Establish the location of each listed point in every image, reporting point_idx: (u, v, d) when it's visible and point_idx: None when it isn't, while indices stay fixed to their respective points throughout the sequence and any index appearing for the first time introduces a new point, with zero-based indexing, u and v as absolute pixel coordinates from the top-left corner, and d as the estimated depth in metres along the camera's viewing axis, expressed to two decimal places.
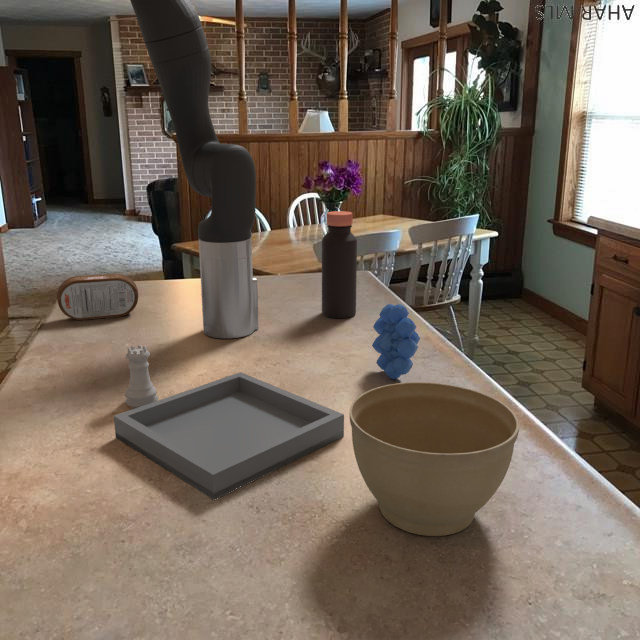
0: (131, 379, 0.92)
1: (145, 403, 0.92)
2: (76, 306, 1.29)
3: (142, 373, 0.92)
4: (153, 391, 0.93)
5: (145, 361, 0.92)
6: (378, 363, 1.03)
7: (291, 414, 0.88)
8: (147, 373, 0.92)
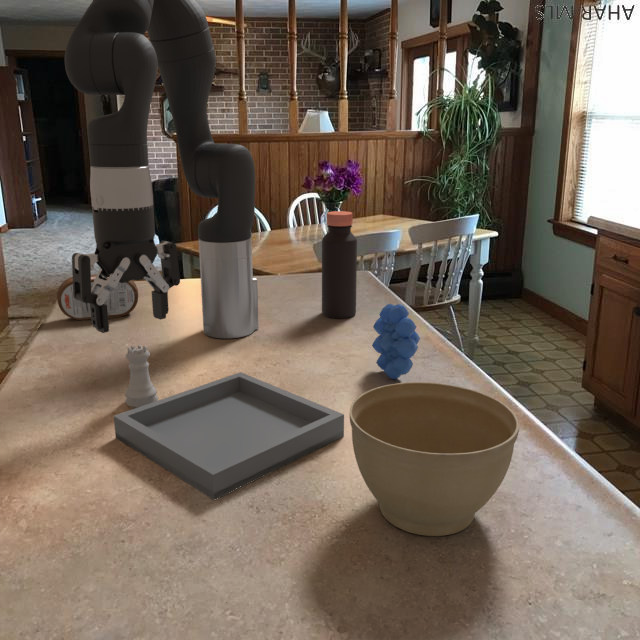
0: (131, 379, 0.92)
1: (145, 403, 0.92)
2: (76, 306, 1.29)
3: (142, 373, 0.92)
4: (153, 391, 0.93)
5: (145, 361, 0.92)
6: (378, 363, 1.03)
7: (291, 414, 0.88)
8: (147, 373, 0.92)
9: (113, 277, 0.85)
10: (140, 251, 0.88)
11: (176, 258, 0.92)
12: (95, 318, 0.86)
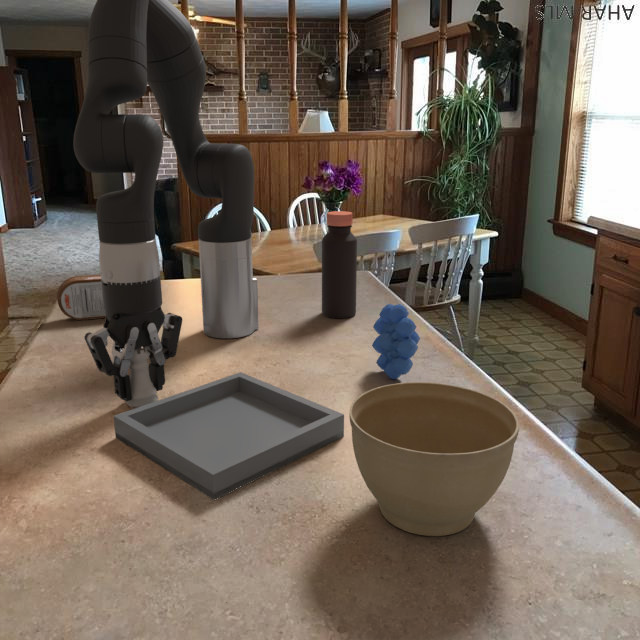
0: (131, 379, 0.92)
1: (145, 403, 0.92)
2: (76, 306, 1.29)
3: (142, 373, 0.92)
4: (153, 391, 0.93)
5: (145, 361, 0.92)
6: (378, 363, 1.03)
7: (291, 414, 0.88)
8: (147, 373, 0.92)
9: (128, 349, 0.89)
10: (148, 319, 0.91)
11: (178, 331, 0.94)
12: (119, 388, 0.90)
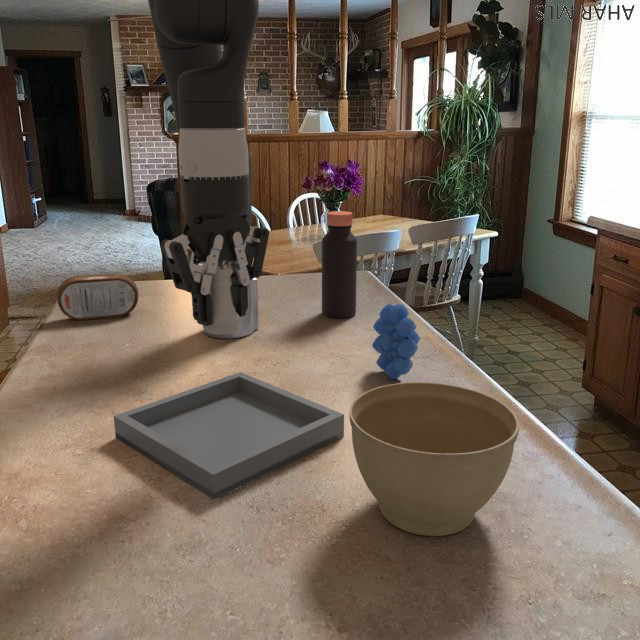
0: (211, 300, 0.78)
1: (227, 329, 0.78)
2: (76, 306, 1.29)
3: (225, 293, 0.77)
4: (236, 316, 0.79)
5: (228, 279, 0.78)
6: (378, 363, 1.03)
7: (291, 414, 0.88)
8: (229, 294, 0.78)
9: (211, 261, 0.74)
10: (233, 228, 0.76)
11: (264, 247, 0.80)
12: (198, 309, 0.76)
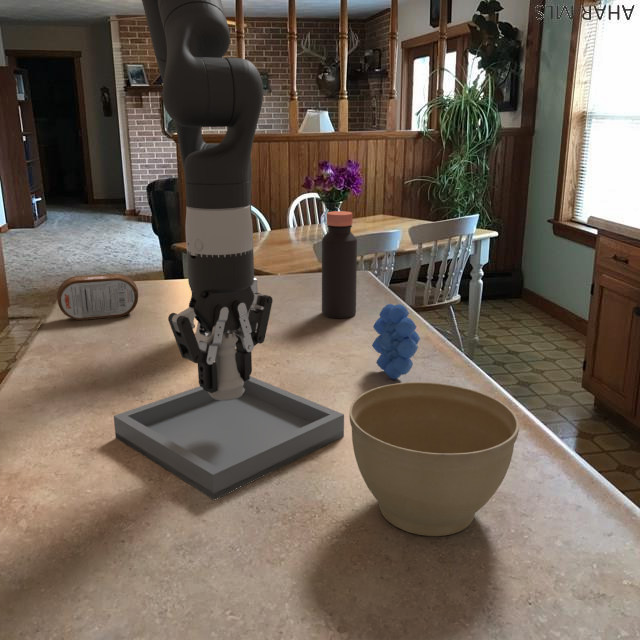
0: None
1: (232, 395, 0.80)
2: (76, 306, 1.29)
3: (230, 361, 0.80)
4: (240, 381, 0.81)
5: (233, 347, 0.80)
6: (378, 363, 1.03)
7: (291, 414, 0.88)
8: (234, 360, 0.81)
9: (216, 332, 0.77)
10: (237, 298, 0.79)
11: (268, 313, 0.83)
12: (204, 377, 0.79)
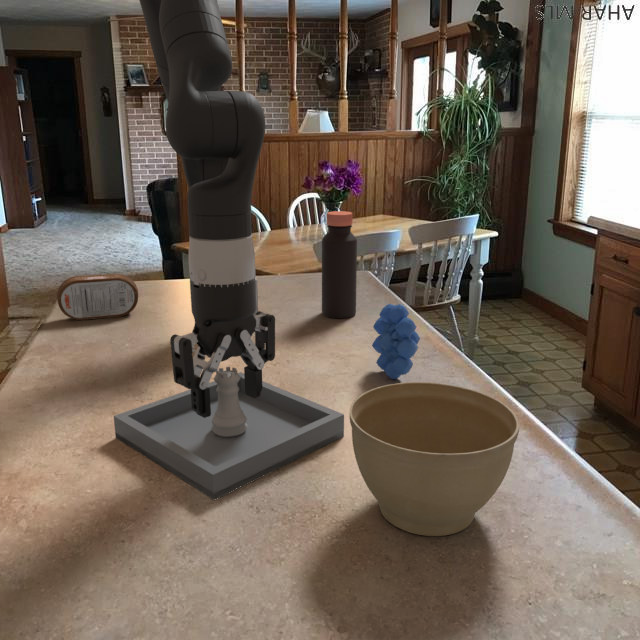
0: (220, 405, 0.82)
1: (235, 432, 0.82)
2: (76, 306, 1.29)
3: (233, 399, 0.82)
4: (243, 418, 0.83)
5: (236, 385, 0.82)
6: (378, 363, 1.03)
7: (291, 414, 0.88)
8: (237, 398, 0.82)
9: (215, 358, 0.77)
10: (240, 325, 0.80)
11: (273, 331, 0.84)
12: (197, 402, 0.78)
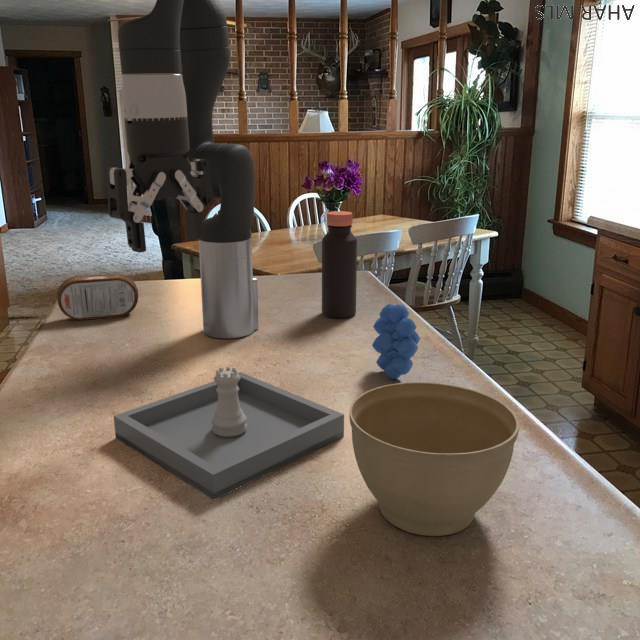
0: (220, 405, 0.82)
1: (235, 432, 0.82)
2: (76, 306, 1.29)
3: (233, 399, 0.82)
4: (243, 418, 0.83)
5: (236, 385, 0.82)
6: (378, 363, 1.03)
7: (291, 414, 0.88)
8: (237, 398, 0.82)
9: (149, 193, 0.82)
10: (175, 167, 0.84)
11: (209, 176, 0.88)
12: (132, 236, 0.83)
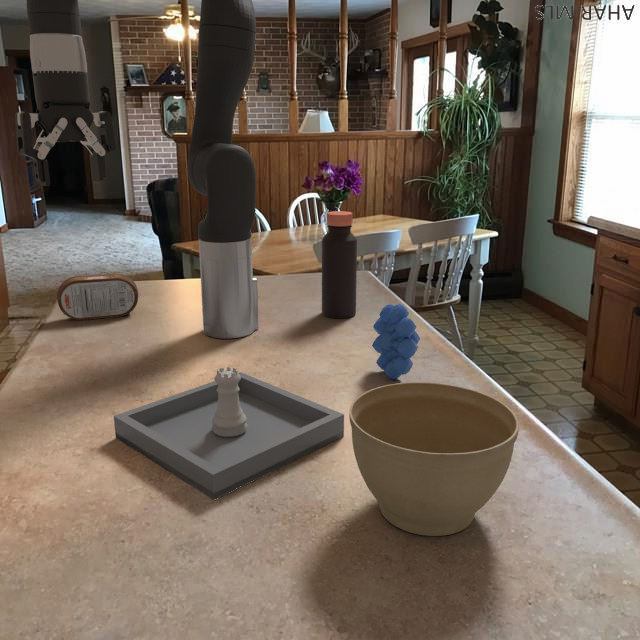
0: (220, 405, 0.82)
1: (235, 432, 0.82)
2: (76, 306, 1.29)
3: (233, 399, 0.82)
4: (243, 419, 0.83)
5: (236, 385, 0.82)
6: (378, 363, 1.03)
7: (291, 414, 0.88)
8: (237, 398, 0.82)
9: (52, 134, 0.98)
10: (77, 115, 1.00)
11: (111, 126, 1.04)
12: (37, 171, 0.98)
